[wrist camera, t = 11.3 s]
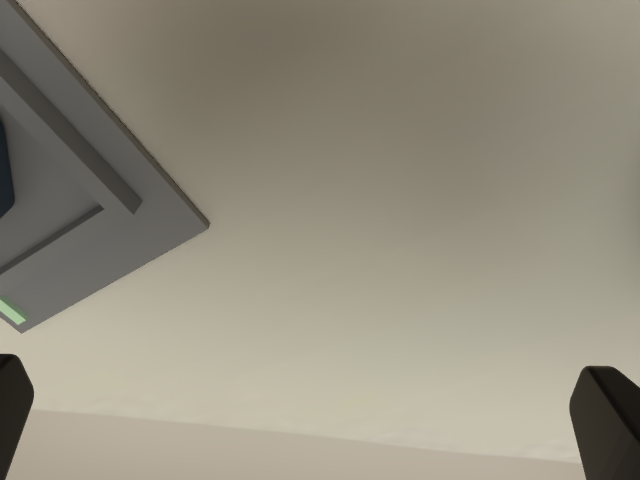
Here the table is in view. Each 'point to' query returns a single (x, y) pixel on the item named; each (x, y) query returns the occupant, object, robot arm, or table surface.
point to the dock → (73, 184)
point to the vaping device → (5, 177)
